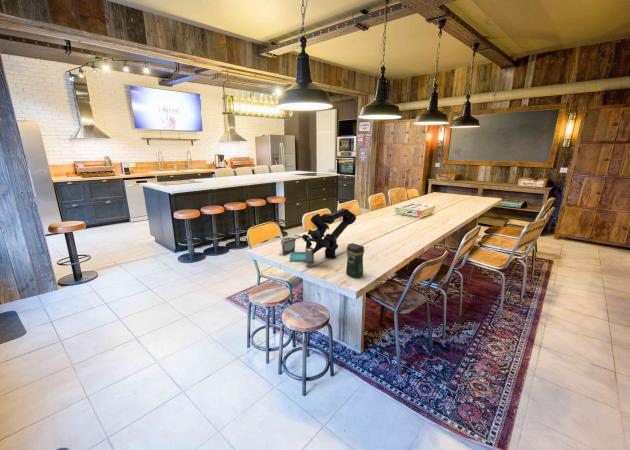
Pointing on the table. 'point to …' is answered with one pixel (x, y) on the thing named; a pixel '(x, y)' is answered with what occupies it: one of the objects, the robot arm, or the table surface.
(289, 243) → the food container
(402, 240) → the table surface
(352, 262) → the coffee jar
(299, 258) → the teal tray
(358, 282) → the table surface
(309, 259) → the grey tin
